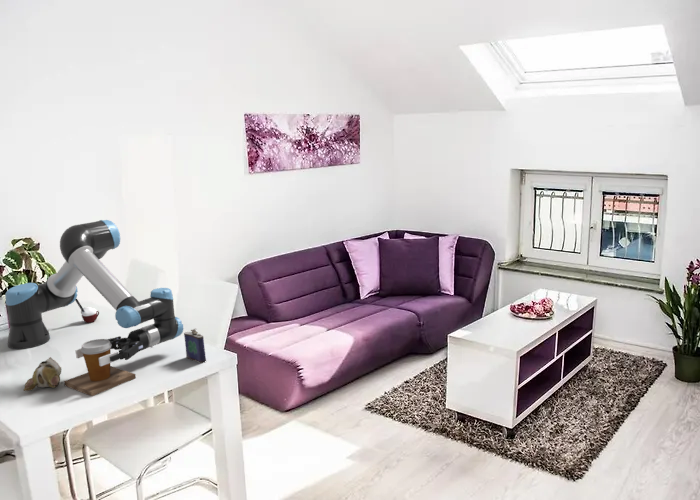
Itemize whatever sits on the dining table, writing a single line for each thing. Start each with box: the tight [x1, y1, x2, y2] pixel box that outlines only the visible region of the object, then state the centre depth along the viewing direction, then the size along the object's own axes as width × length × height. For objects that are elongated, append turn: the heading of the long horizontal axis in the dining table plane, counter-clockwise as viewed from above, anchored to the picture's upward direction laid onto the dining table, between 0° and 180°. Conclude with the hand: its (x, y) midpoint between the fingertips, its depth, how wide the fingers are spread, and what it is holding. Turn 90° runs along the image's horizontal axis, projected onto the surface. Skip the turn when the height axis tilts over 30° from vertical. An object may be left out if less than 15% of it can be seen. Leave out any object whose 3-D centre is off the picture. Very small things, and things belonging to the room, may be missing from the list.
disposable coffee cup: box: [80, 338, 112, 381], centre depth 199 cm, size 10×10×12 cm
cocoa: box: [74, 298, 100, 324], centre depth 265 cm, size 10×6×12 cm
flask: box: [183, 328, 207, 364], centre depth 215 cm, size 10×3×12 cm, turn 50°
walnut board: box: [63, 365, 137, 397], centre depth 200 cm, size 16×16×2 cm
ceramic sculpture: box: [23, 356, 62, 392], centre depth 199 cm, size 11×9×15 cm
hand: (87, 358), depth 196 cm, fingers open, 13 cm apart
